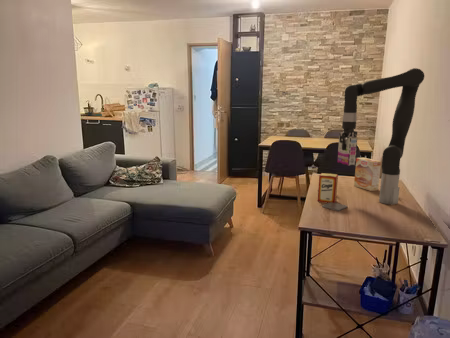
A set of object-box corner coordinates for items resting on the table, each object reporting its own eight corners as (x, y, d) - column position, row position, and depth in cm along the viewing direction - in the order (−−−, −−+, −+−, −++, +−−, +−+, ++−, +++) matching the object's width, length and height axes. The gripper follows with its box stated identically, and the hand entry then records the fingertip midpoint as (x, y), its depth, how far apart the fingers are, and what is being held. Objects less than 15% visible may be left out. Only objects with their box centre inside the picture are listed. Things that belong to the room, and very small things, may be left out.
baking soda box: (317, 201, 205) (319, 174, 202) (319, 198, 211) (321, 172, 208) (334, 203, 201) (336, 176, 198) (336, 200, 207) (338, 174, 204)
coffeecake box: (353, 185, 241) (355, 157, 237) (361, 184, 244) (363, 157, 240) (370, 191, 228) (373, 161, 224) (378, 190, 231) (381, 160, 227)
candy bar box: (355, 165, 203) (358, 137, 200) (348, 165, 202) (350, 137, 198) (343, 162, 214) (345, 135, 210) (336, 162, 212) (338, 135, 209)
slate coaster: (347, 207, 195) (347, 205, 195) (339, 211, 188) (339, 209, 188) (330, 203, 202) (330, 201, 201) (322, 207, 195) (322, 205, 194)
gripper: (347, 121, 195) (345, 151, 199) (362, 120, 204) (360, 149, 207) (336, 120, 201) (334, 149, 205) (351, 119, 210) (349, 147, 213)
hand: (347, 149), depth 206 cm, fingers closed on candy bar box, 6 cm apart
